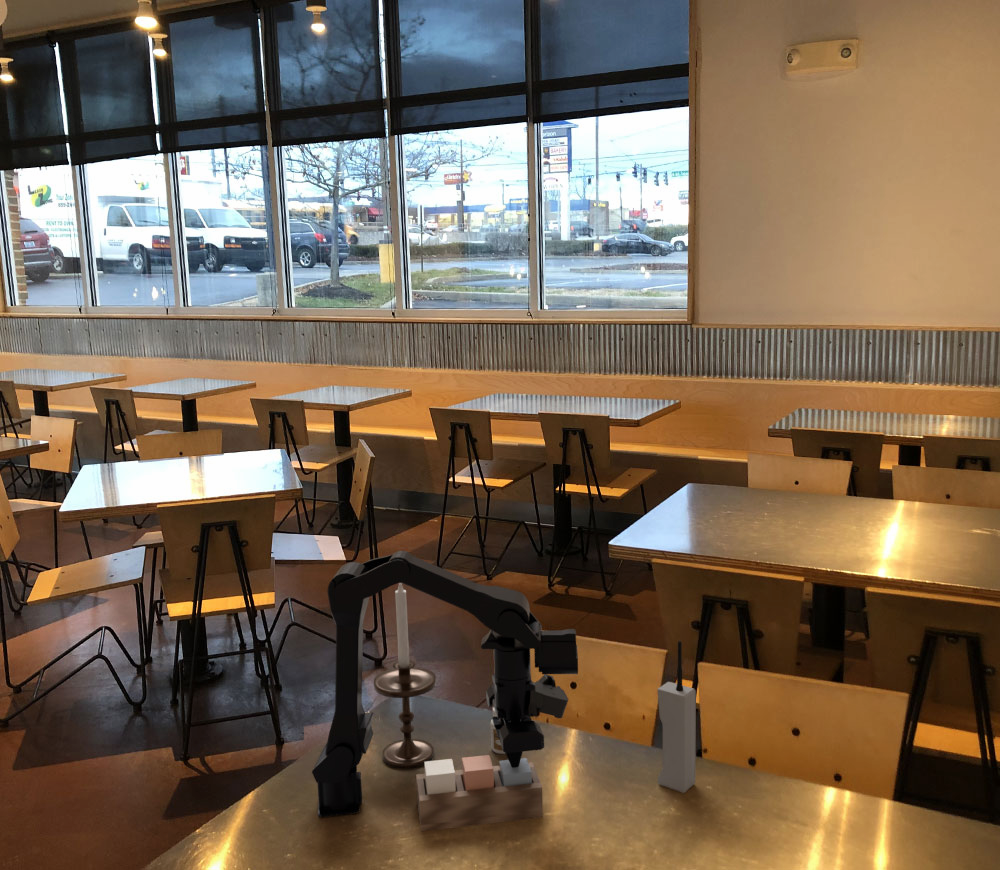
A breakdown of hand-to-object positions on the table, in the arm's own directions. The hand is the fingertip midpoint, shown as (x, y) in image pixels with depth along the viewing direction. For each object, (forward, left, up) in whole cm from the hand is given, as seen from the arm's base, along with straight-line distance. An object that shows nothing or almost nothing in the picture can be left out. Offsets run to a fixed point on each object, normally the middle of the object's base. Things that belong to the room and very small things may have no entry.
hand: (514, 766), depth 149 cm
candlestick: (-16, +20, -7) cm, 27 cm away
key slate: (0, 0, -4) cm, 4 cm away
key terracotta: (-6, 0, -3) cm, 7 cm away
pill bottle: (+1, +19, -7) cm, 20 cm away
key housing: (-6, 0, -7) cm, 9 cm away
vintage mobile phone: (+27, +1, -7) cm, 28 cm away
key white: (-12, 0, -3) cm, 12 cm away
